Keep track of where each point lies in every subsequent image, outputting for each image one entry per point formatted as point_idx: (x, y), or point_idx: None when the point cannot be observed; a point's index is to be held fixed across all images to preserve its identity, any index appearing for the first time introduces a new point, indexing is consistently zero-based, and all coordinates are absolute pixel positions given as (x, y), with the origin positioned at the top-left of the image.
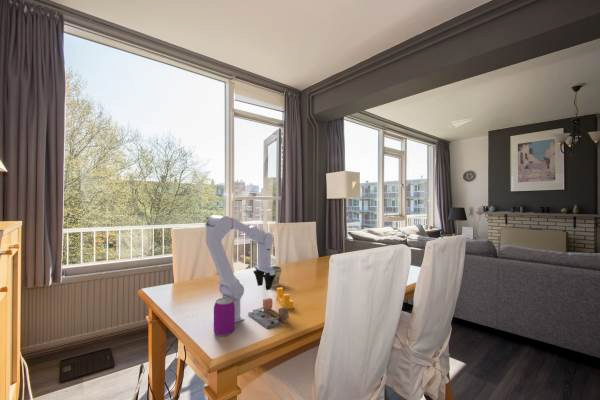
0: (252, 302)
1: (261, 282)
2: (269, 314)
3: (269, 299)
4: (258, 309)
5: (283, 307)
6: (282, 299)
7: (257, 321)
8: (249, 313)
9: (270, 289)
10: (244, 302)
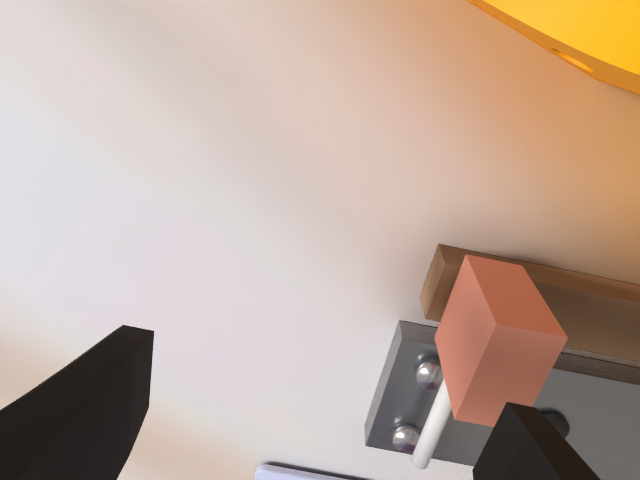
0: (89, 193)
1: (123, 401)
2: None
3: (534, 370)
4: (447, 417)
5: (564, 58)
6: (564, 43)
7: None
8: (389, 449)
9: (539, 416)
10: (33, 253)
